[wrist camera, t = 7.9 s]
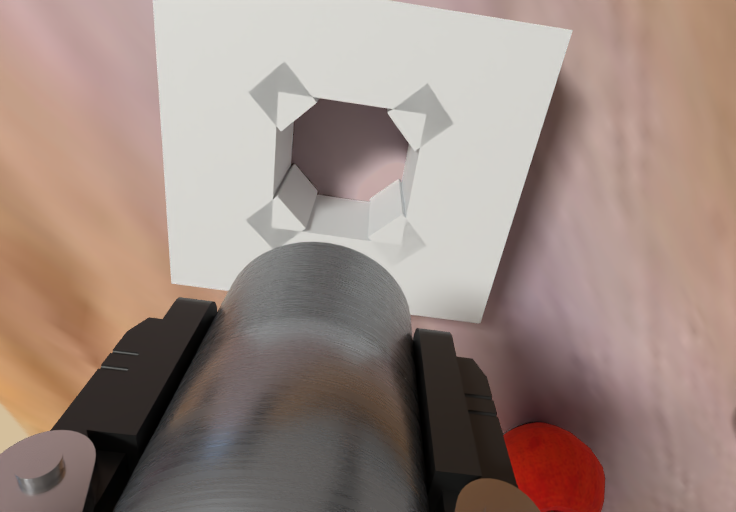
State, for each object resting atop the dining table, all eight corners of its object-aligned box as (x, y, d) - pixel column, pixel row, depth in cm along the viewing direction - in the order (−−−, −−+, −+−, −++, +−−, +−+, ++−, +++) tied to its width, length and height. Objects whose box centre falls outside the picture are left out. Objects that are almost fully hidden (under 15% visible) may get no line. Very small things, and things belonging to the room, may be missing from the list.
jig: (534, 25, 22) (572, 29, 18) (464, 275, 29) (480, 323, 25) (196, -30, 22) (149, -39, 17) (203, 239, 28) (171, 283, 24)
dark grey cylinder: (427, 256, 10) (534, 835, 3) (393, 401, 12) (413, 949, 5) (224, 228, 10) (-157, 781, 3) (225, 381, 12) (4, 922, 5)
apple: (530, 379, 33) (567, 471, 26) (604, 429, 35) (655, 527, 29) (452, 440, 36) (468, 537, 29) (525, 483, 38) (554, 582, 32)
